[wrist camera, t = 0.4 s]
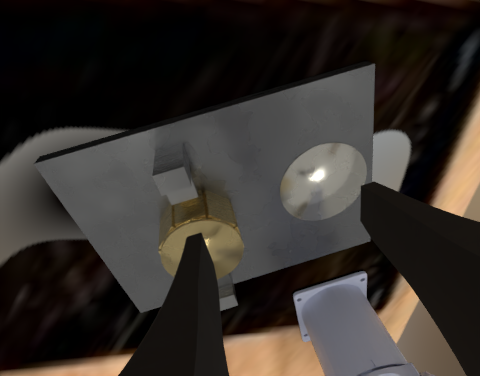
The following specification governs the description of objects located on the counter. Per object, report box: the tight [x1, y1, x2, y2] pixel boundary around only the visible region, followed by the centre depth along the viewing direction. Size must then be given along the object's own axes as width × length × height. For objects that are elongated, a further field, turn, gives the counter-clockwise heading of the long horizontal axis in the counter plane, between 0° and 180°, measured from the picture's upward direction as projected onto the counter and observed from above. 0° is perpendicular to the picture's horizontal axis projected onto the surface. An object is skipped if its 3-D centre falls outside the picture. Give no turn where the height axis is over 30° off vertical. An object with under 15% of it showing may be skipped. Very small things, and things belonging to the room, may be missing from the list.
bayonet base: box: [34, 61, 375, 313], centre depth 22 cm, size 16×22×4 cm
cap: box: [158, 190, 244, 279], centre depth 22 cm, size 9×6×4 cm, turn 13°
